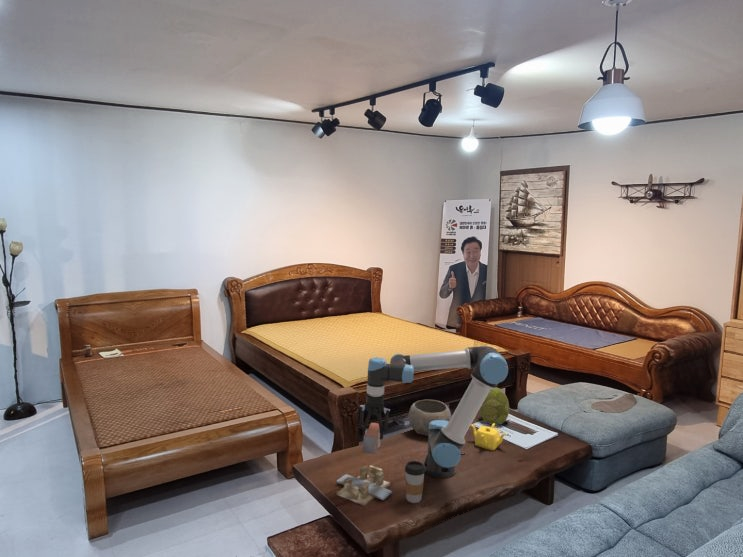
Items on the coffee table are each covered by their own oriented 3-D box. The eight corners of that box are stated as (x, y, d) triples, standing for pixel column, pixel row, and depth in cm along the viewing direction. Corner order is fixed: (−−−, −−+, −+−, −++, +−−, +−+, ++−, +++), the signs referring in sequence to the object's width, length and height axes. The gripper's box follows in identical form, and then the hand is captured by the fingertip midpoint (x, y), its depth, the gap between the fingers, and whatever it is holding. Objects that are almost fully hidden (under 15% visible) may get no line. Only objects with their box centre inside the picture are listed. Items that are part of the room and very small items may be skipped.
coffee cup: (402, 493, 219) (403, 460, 217) (421, 493, 220) (423, 460, 218) (405, 505, 211) (406, 470, 209) (425, 504, 212) (426, 470, 210)
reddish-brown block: (381, 438, 232) (382, 423, 231) (374, 454, 218) (375, 438, 217) (370, 437, 234) (371, 422, 232) (363, 452, 219) (363, 436, 218)
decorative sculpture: (506, 428, 288) (508, 394, 285) (477, 423, 294) (479, 390, 291) (509, 418, 303) (511, 385, 301) (481, 413, 309) (483, 381, 306)
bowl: (405, 438, 273) (406, 411, 271) (409, 421, 295) (410, 395, 293) (450, 442, 269) (451, 415, 267) (450, 424, 292) (452, 399, 290)
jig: (399, 488, 224) (400, 475, 223) (374, 509, 207) (375, 495, 206) (354, 471, 237) (354, 459, 236) (327, 491, 220) (327, 477, 219)
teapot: (506, 450, 262) (507, 432, 261) (480, 452, 259) (481, 434, 258) (493, 437, 276) (494, 420, 275) (468, 440, 273) (469, 422, 272)
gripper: (397, 393, 224) (394, 444, 227) (357, 388, 228) (354, 438, 231) (394, 399, 217) (391, 451, 220) (352, 394, 220) (350, 445, 224)
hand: (372, 444), depth 225 cm, fingers closed on reddish-brown block, 5 cm apart
